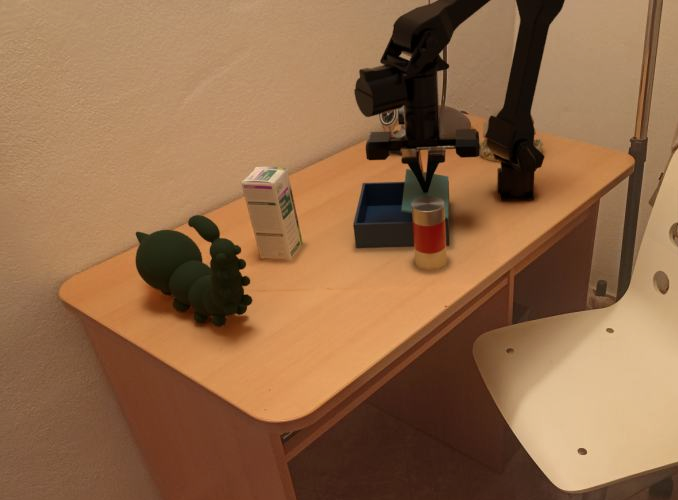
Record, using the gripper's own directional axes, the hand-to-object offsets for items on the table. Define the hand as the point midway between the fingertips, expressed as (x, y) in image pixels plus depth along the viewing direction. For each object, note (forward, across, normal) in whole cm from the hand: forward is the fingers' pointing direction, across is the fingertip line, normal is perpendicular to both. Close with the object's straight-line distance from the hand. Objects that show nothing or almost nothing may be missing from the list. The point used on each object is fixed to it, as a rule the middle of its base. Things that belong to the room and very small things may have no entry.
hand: (425, 191), depth 118 cm
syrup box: (+7, +25, +8) cm, 27 cm away
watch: (+7, +7, -35) cm, 36 cm away
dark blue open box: (+7, +4, 0) cm, 8 cm away
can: (+7, -1, +13) cm, 15 cm away
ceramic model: (+7, -17, -32) cm, 37 cm away
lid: (+1, 0, 0) cm, 1 cm away
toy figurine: (+7, +35, +24) cm, 43 cm away
